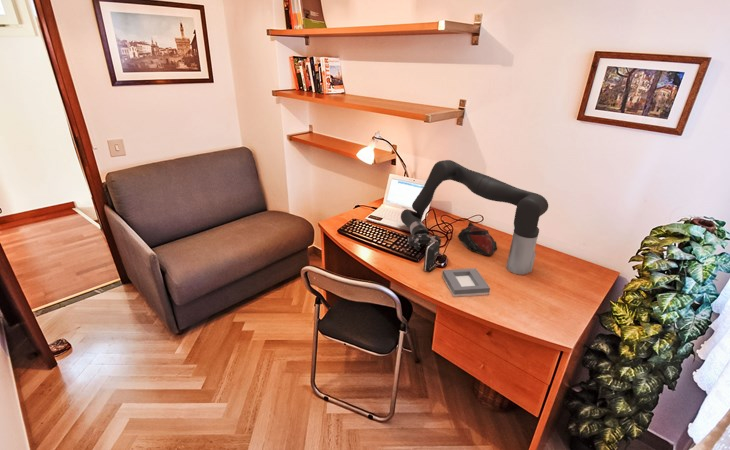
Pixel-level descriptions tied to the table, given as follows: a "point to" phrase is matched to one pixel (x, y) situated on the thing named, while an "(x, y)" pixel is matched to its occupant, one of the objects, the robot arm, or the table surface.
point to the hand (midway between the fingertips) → (428, 248)
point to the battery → (431, 256)
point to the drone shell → (478, 240)
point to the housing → (465, 282)
